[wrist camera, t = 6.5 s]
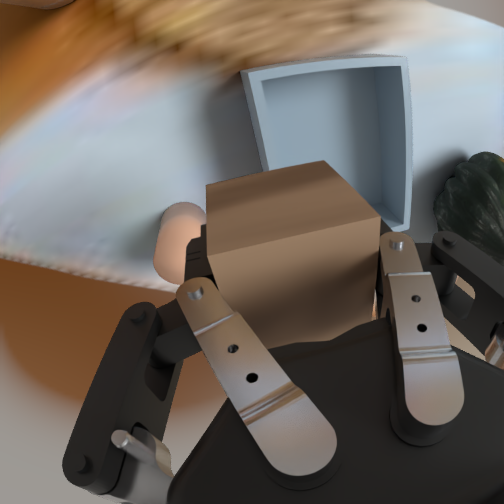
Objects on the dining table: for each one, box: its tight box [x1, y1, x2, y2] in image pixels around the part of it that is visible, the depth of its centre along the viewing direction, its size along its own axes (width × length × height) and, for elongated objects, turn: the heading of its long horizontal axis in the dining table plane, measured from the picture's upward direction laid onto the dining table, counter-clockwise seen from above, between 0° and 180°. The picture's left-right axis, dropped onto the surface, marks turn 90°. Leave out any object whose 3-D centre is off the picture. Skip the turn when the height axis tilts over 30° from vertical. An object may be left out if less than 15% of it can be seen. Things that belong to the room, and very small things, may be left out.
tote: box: [240, 54, 413, 232], centre depth 27 cm, size 18×14×6 cm
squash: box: [433, 152, 504, 267], centre depth 30 cm, size 14×15×15 cm
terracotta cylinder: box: [153, 202, 206, 285], centre depth 30 cm, size 5×5×7 cm
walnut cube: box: [206, 160, 381, 349], centre depth 12 cm, size 5×5×5 cm
